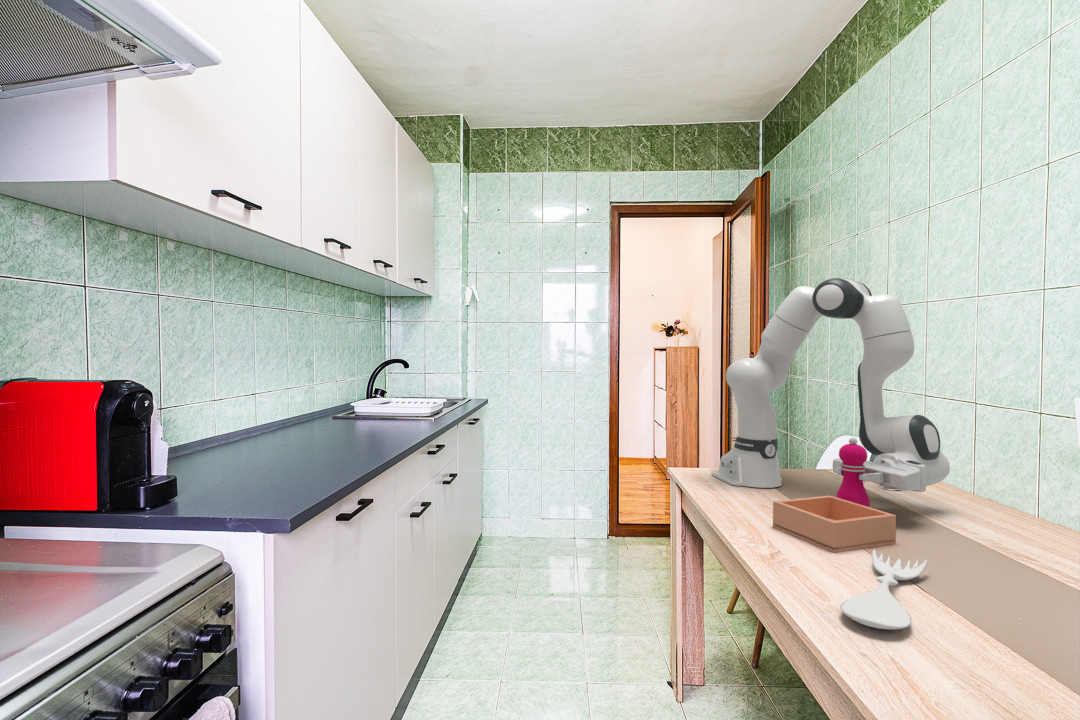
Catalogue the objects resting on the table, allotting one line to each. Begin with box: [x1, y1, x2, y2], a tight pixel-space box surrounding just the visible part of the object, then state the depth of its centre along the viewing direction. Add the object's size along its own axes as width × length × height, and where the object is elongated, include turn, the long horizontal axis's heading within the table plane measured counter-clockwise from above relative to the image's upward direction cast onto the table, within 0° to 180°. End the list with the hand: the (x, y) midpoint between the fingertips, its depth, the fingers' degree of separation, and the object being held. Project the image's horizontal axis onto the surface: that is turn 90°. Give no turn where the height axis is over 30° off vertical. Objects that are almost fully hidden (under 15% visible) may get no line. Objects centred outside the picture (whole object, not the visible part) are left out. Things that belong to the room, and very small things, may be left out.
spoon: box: [839, 548, 928, 631], centre depth 90 cm, size 9×32×4 cm, turn 140°
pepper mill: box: [835, 437, 871, 508], centre depth 132 cm, size 7×7×20 cm
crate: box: [772, 495, 897, 553], centre depth 121 cm, size 17×17×6 cm
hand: (850, 474), depth 132 cm, fingers closed on pepper mill, 5 cm apart
